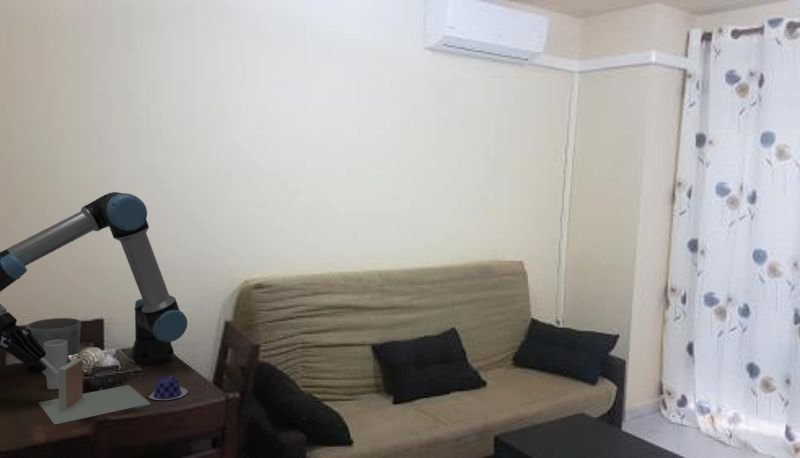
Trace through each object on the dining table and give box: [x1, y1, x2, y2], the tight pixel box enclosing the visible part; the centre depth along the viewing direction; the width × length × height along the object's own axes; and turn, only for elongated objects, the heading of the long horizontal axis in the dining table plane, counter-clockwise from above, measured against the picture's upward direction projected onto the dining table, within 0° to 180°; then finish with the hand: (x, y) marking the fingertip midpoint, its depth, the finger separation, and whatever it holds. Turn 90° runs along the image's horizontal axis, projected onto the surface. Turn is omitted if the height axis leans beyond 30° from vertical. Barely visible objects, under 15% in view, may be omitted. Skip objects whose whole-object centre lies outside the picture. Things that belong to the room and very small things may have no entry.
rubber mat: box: [38, 384, 152, 425], centre depth 188 cm, size 26×20×1 cm
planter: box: [25, 317, 82, 364], centre depth 222 cm, size 17×17×15 cm
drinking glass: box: [44, 340, 68, 390], centre depth 200 cm, size 7×7×15 cm
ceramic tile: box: [58, 358, 84, 410], centre depth 187 cm, size 2×10×12 cm, turn 1°
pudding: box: [147, 376, 188, 401], centre depth 198 cm, size 12×12×5 cm
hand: (54, 376), depth 187 cm, fingers closed
